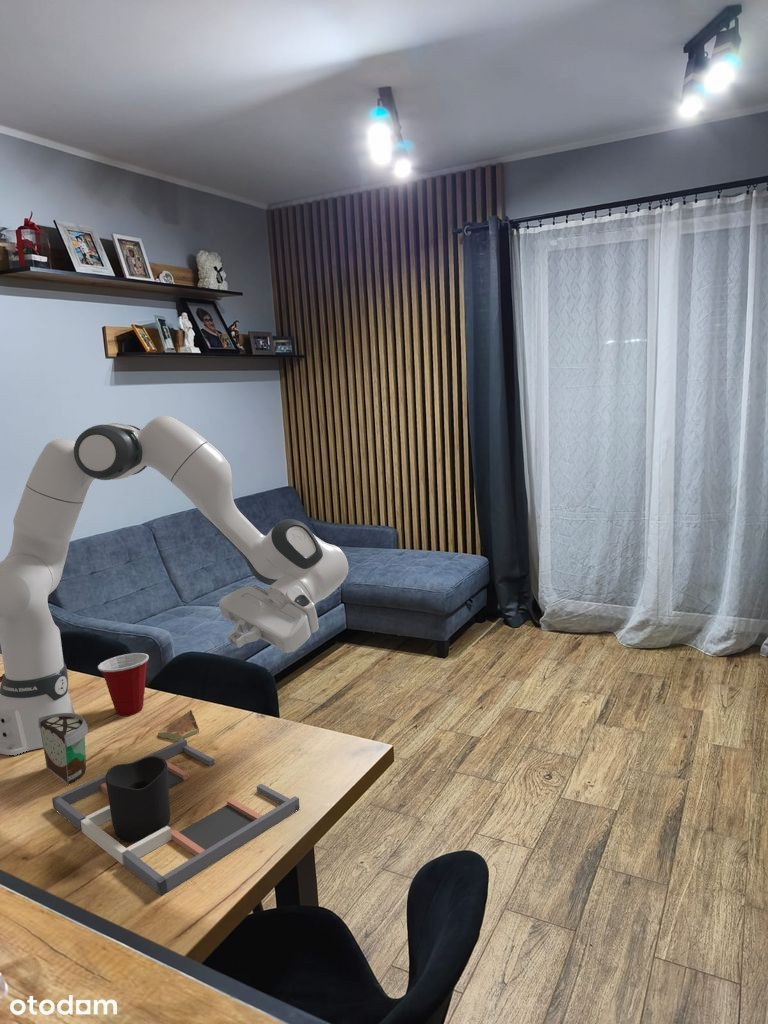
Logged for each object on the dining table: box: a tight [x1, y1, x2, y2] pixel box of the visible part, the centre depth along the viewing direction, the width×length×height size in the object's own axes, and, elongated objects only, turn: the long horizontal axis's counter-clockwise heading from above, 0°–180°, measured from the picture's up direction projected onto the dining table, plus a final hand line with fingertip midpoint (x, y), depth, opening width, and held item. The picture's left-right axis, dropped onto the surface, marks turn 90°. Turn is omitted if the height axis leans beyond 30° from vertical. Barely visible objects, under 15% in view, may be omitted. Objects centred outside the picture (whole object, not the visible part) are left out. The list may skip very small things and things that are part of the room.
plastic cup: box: [97, 652, 150, 717], centre depth 156 cm, size 11×11×12 cm
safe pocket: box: [81, 804, 173, 866], centre depth 111 cm, size 8×14×2 cm, turn 49°
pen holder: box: [105, 756, 171, 844], centre depth 112 cm, size 9×9×10 cm
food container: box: [38, 713, 89, 786], centre depth 131 cm, size 12×6×10 cm, turn 48°
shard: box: [157, 709, 200, 742], centre depth 147 cm, size 11×8×2 cm
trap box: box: [51, 738, 301, 896], centre depth 118 cm, size 26×34×2 cm
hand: (232, 642), depth 129 cm, fingers closed
